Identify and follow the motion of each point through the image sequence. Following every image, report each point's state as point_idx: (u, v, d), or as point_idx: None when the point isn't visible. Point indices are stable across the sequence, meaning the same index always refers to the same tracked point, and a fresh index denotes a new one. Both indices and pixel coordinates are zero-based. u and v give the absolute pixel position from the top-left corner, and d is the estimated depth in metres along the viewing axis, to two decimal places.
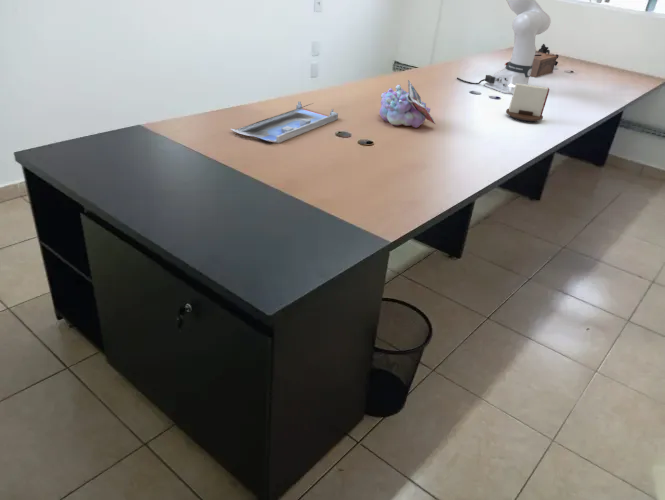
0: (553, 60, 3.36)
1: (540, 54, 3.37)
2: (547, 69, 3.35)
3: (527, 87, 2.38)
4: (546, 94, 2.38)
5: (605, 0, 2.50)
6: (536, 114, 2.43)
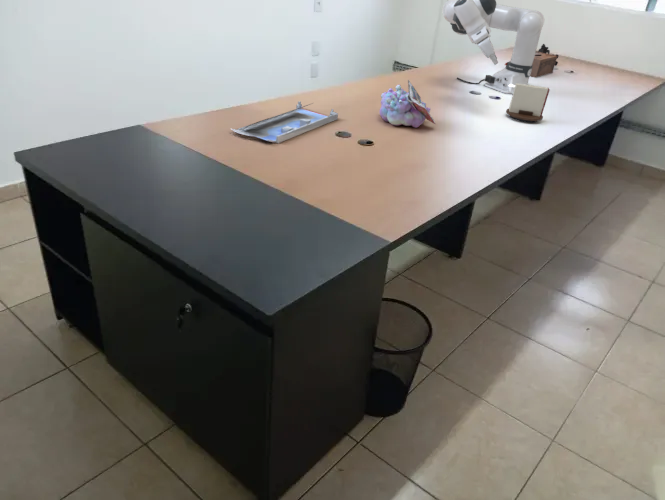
0: (553, 60, 3.36)
1: (540, 54, 3.37)
2: (547, 69, 3.35)
3: (527, 87, 2.38)
4: (546, 94, 2.38)
5: None
6: (536, 114, 2.43)
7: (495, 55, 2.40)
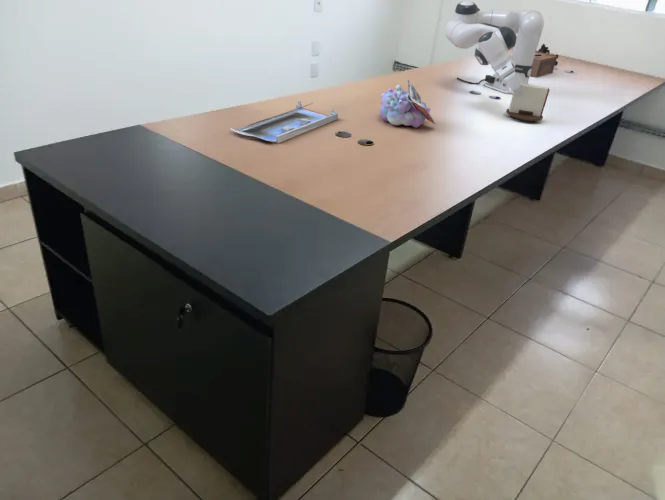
0: (553, 60, 3.36)
1: (540, 54, 3.37)
2: (547, 69, 3.35)
3: (527, 87, 2.38)
4: (546, 94, 2.38)
5: None
6: (536, 114, 2.43)
7: None
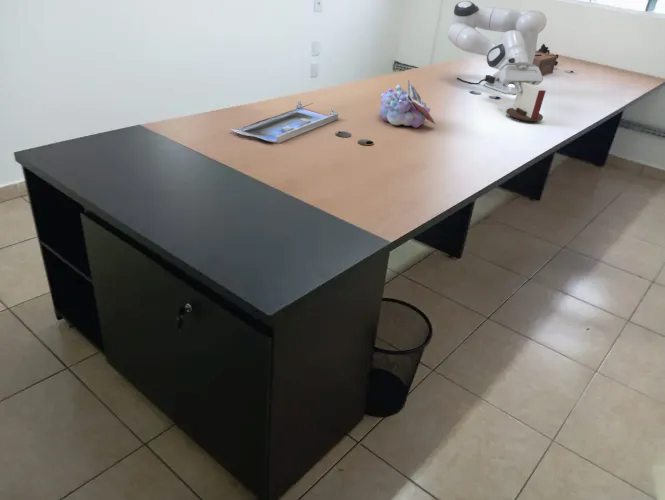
0: (553, 60, 3.36)
1: (540, 54, 3.37)
2: (547, 69, 3.35)
3: (526, 85, 2.41)
4: (537, 95, 2.35)
5: None
6: (528, 115, 2.41)
7: None
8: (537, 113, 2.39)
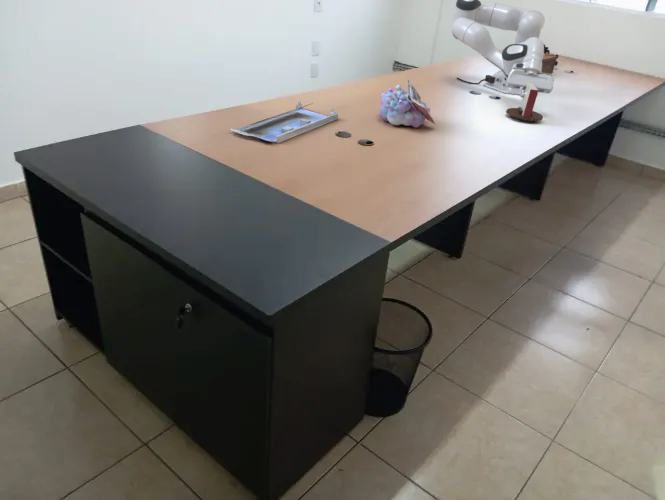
0: (553, 60, 3.36)
1: None
2: (547, 69, 3.35)
3: (528, 85, 2.41)
4: (529, 94, 2.35)
5: None
6: (522, 114, 2.41)
7: None
8: (529, 113, 2.38)
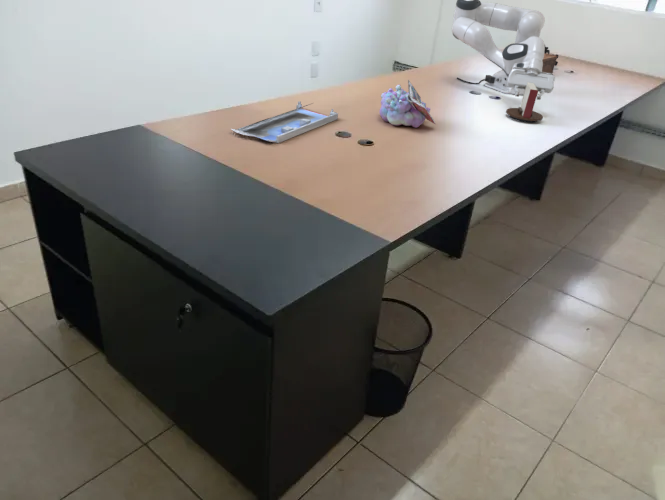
0: (553, 60, 3.36)
1: None
2: (547, 69, 3.35)
3: (528, 85, 2.41)
4: (529, 94, 2.35)
5: (537, 98, 2.46)
6: (522, 114, 2.41)
7: (538, 94, 2.44)
8: (529, 113, 2.38)
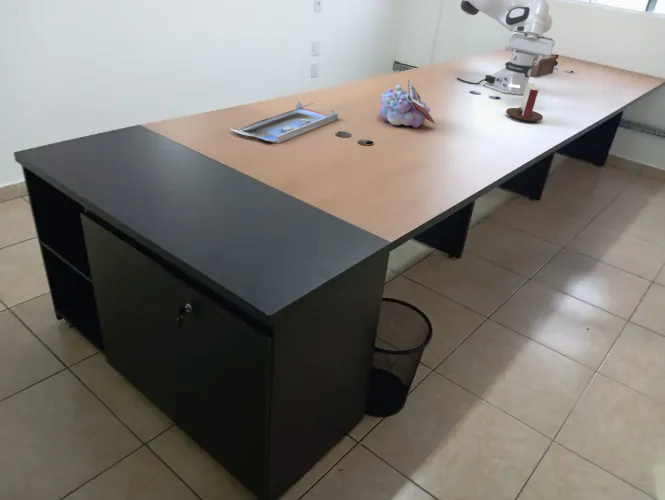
0: (553, 60, 3.36)
1: None
2: (547, 69, 3.35)
3: (528, 85, 2.41)
4: (529, 94, 2.35)
5: (534, 63, 2.47)
6: (522, 114, 2.41)
7: (535, 60, 2.46)
8: (529, 113, 2.38)
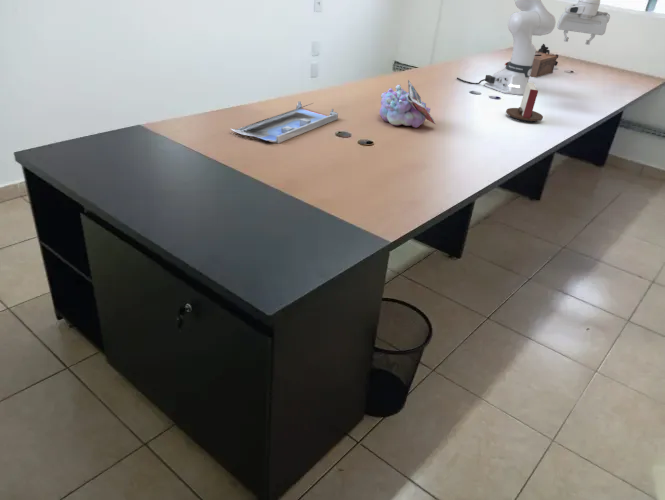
0: (553, 60, 3.36)
1: (540, 54, 3.37)
2: (547, 69, 3.35)
3: (528, 85, 2.41)
4: (529, 94, 2.35)
5: (586, 42, 2.47)
6: (522, 114, 2.41)
7: (587, 40, 2.45)
8: (529, 113, 2.38)
